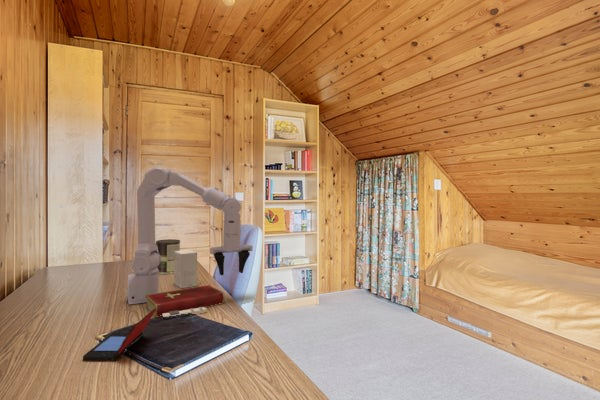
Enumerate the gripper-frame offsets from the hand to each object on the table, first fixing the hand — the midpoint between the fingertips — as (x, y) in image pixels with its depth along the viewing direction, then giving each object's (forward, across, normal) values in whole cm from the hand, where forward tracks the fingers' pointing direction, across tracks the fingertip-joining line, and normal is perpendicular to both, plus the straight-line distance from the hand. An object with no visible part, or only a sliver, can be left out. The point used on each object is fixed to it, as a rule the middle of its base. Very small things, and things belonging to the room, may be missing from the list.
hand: (231, 273), depth 111 cm
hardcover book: (+9, -15, 0) cm, 18 cm away
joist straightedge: (+8, -17, -9) cm, 21 cm away
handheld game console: (+9, -34, -23) cm, 42 cm away
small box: (+9, -10, +24) cm, 27 cm away
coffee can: (+9, -12, +51) cm, 53 cm away
